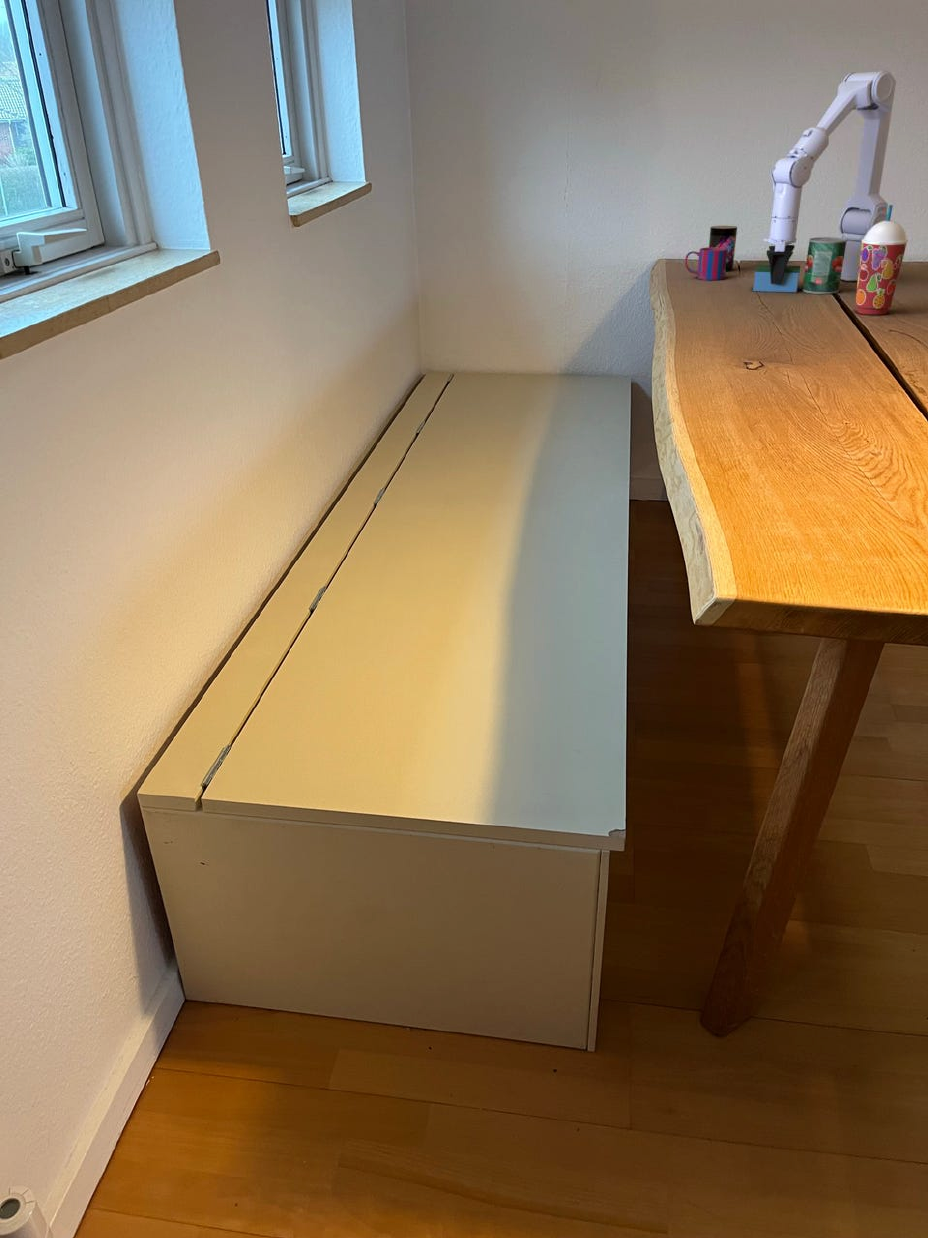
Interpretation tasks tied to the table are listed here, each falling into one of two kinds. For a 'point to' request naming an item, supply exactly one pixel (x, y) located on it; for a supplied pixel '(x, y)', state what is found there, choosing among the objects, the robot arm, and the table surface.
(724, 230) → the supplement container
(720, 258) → the mug
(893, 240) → the smoothie
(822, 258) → the canned tomato
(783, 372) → the table surface
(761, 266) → the sponge
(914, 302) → the table surface
